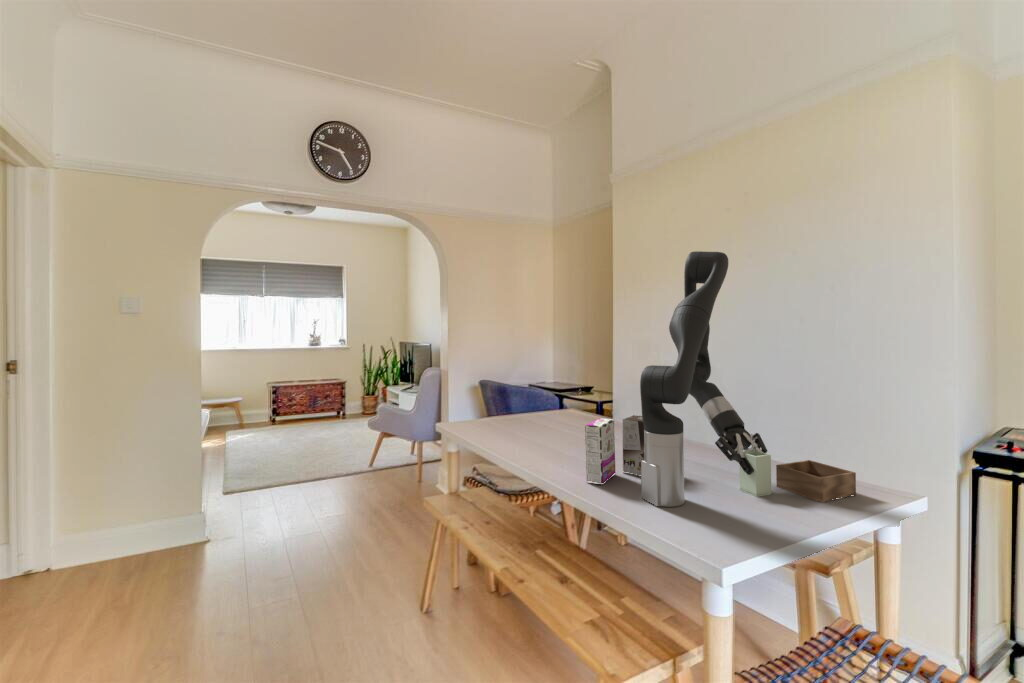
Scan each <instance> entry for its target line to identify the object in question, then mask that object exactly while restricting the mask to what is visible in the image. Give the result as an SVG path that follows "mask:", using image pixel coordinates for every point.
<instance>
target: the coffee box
mask: <svg viewBox="0 0 1024 683" xmlns="http://www.w3.org/2000/svg"><path fill="white" fill-rule="evenodd" d="M642 460H644V423H643V419H642V415H634V414H633V415H631V416H629V417H625V418H623V419H622V472H623V471H624V472H629V473H633V474H637V475H641V461H642ZM637 475H636V476H637Z"/></svg>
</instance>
